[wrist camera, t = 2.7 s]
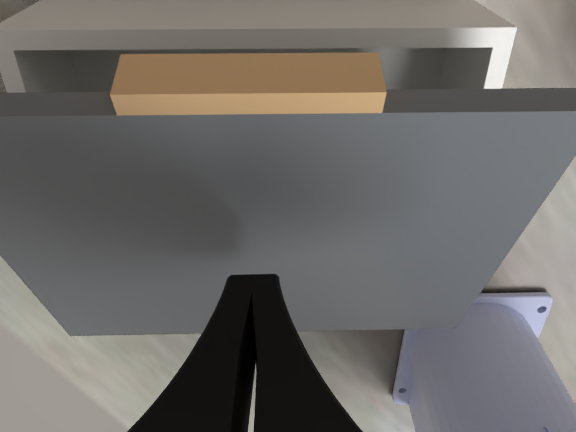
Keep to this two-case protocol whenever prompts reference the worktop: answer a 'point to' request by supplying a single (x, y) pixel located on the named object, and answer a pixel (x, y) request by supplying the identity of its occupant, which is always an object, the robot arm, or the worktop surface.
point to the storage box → (255, 38)
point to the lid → (271, 190)
